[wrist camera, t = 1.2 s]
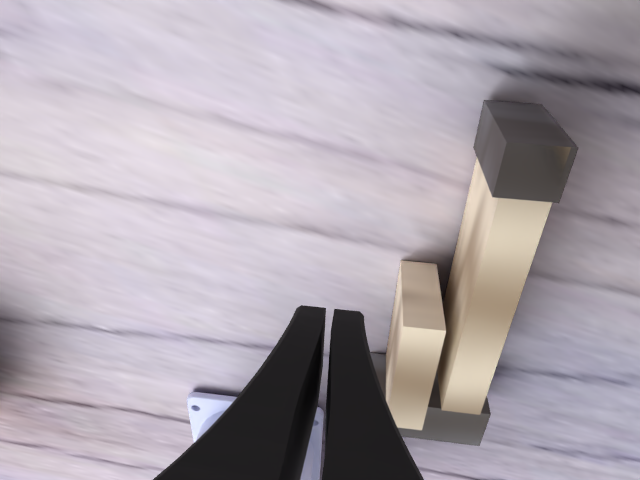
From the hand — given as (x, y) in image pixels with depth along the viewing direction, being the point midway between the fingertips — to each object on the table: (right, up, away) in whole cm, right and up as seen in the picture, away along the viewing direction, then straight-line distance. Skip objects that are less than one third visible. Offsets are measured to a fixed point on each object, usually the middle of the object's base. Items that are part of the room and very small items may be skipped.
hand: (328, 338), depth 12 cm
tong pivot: (+5, -2, +12) cm, 13 cm away
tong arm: (+6, +2, +9) cm, 11 cm away
